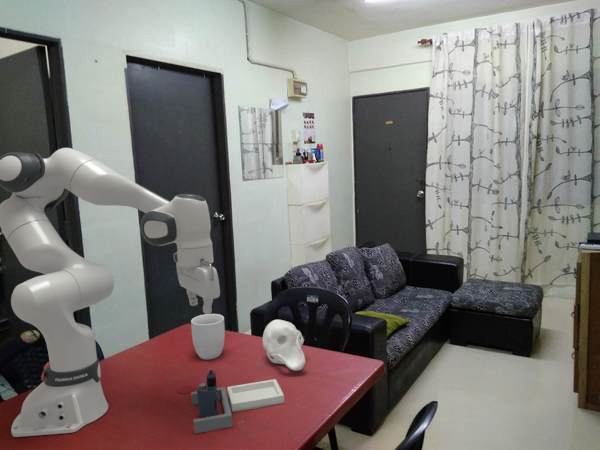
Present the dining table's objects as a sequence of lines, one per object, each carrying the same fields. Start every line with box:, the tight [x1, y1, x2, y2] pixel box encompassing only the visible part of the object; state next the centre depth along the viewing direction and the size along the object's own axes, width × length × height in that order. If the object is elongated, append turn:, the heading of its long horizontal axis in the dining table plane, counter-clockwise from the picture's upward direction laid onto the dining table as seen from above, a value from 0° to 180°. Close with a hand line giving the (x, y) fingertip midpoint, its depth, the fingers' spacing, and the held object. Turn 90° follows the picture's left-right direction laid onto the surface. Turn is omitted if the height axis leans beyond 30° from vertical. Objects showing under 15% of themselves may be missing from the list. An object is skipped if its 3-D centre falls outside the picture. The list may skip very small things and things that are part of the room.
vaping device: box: [196, 369, 219, 418], centre depth 118 cm, size 3×5×12 cm, turn 78°
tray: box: [226, 378, 285, 413], centre depth 126 cm, size 14×10×2 cm
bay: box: [190, 386, 233, 435], centre depth 119 cm, size 9×15×3 cm, turn 16°
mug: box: [190, 313, 226, 361], centre depth 157 cm, size 15×11×13 cm
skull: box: [262, 319, 306, 371], centre depth 147 cm, size 13×14×20 cm
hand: (200, 308), depth 119 cm, fingers open, 8 cm apart
